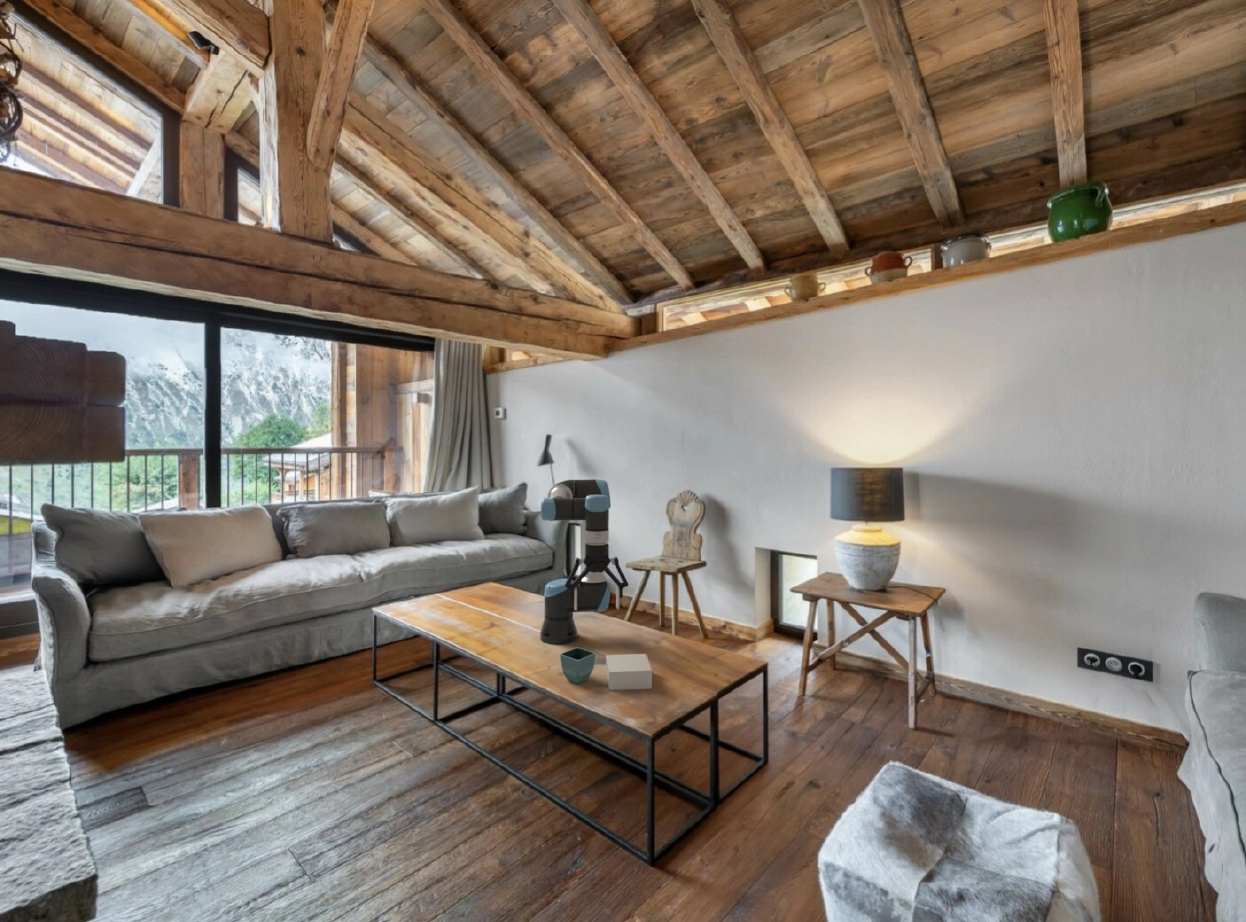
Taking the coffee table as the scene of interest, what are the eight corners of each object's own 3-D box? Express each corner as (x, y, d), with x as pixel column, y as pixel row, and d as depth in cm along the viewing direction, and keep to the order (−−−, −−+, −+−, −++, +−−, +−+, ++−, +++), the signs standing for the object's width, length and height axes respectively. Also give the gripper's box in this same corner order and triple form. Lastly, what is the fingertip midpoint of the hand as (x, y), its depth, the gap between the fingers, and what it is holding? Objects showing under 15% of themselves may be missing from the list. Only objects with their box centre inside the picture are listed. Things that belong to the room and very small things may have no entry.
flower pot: (577, 671, 194) (577, 646, 194) (596, 678, 189) (596, 652, 188) (559, 680, 187) (559, 654, 187) (578, 687, 182) (578, 660, 181)
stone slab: (606, 672, 194) (606, 655, 194) (645, 670, 195) (645, 653, 195) (609, 690, 180) (609, 672, 180) (651, 688, 181) (651, 670, 181)
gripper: (557, 546, 173) (557, 613, 174) (637, 544, 176) (636, 611, 176) (558, 541, 180) (557, 606, 181) (634, 540, 183) (633, 604, 184)
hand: (596, 608), depth 179 cm, fingers open, 13 cm apart
